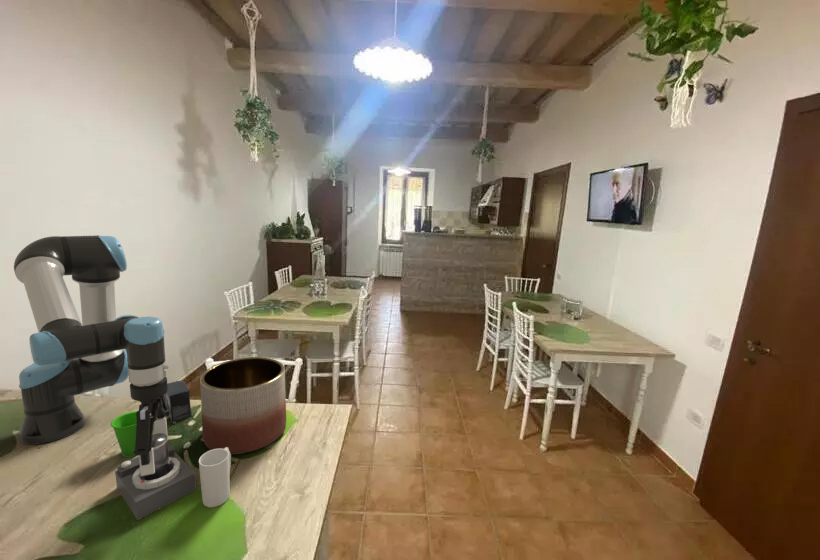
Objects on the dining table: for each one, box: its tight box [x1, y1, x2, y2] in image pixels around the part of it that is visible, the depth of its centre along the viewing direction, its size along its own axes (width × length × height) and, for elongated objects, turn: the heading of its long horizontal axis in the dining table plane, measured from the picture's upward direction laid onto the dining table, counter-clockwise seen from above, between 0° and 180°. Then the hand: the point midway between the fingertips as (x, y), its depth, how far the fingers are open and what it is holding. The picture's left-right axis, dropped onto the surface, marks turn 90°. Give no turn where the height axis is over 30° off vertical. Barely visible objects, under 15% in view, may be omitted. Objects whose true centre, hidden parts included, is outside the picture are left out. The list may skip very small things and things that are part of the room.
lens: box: [144, 433, 170, 481], centre depth 94 cm, size 6×6×10 cm
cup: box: [110, 410, 138, 458], centre depth 109 cm, size 9×9×11 cm
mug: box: [198, 447, 232, 508], centre depth 95 cm, size 10×7×12 cm, turn 174°
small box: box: [164, 379, 192, 423], centre depth 130 cm, size 11×6×10 cm, turn 43°
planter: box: [199, 356, 287, 455], centre depth 120 cm, size 25×25×22 cm
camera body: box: [114, 443, 197, 521], centre depth 95 cm, size 16×13×7 cm
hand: (155, 456), depth 94 cm, fingers open, 13 cm apart
